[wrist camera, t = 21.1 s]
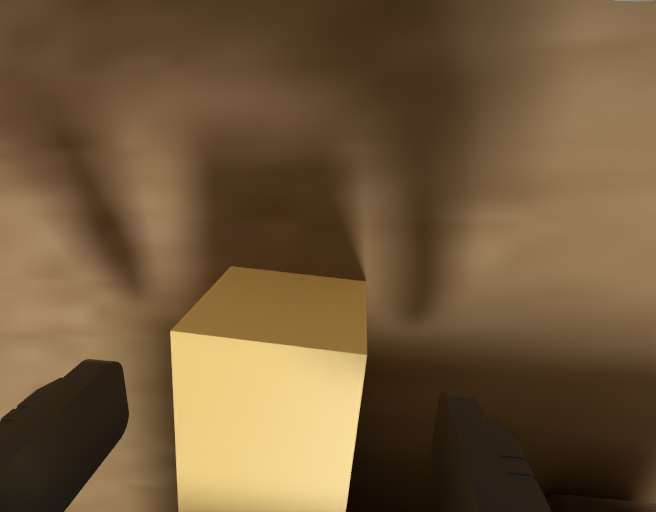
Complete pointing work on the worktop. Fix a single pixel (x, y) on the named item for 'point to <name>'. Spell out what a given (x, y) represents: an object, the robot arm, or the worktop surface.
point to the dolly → (595, 504)
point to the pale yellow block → (269, 392)
